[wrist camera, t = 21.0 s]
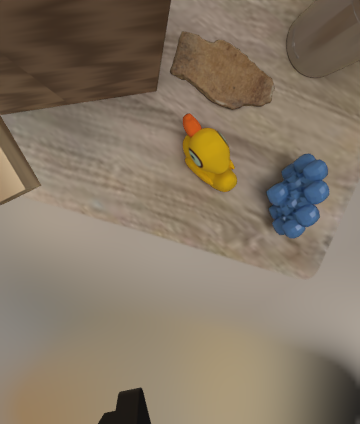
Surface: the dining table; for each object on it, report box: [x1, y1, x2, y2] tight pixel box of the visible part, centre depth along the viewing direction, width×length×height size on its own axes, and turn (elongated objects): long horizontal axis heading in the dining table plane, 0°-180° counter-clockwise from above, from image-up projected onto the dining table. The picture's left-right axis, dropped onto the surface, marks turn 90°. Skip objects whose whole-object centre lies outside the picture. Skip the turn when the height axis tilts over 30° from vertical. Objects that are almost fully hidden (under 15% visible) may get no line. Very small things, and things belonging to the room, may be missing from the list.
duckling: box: [183, 114, 237, 192], centre depth 40 cm, size 11×5×10 cm, turn 36°
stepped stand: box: [0, 0, 171, 115], centre depth 25 cm, size 24×11×32 cm, turn 99°
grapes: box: [266, 154, 329, 238], centre depth 42 cm, size 12×7×12 cm, turn 170°
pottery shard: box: [170, 32, 275, 109], centre depth 43 cm, size 8×16×2 cm, turn 58°
